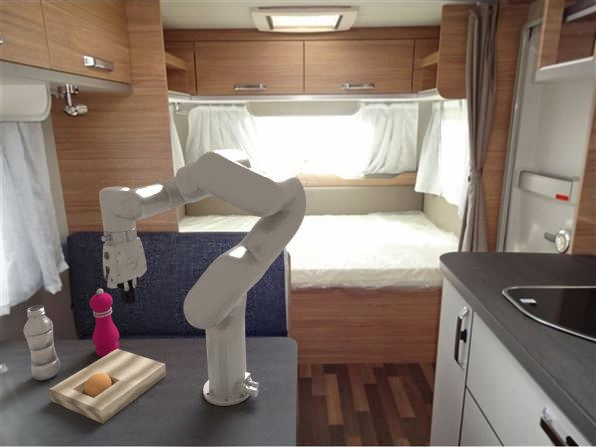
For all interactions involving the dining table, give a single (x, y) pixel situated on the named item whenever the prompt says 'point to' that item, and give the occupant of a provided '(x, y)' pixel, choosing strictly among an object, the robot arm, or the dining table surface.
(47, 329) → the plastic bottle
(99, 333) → the pepper mill
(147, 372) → the hole board
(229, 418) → the dining table surface
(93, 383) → the ball
